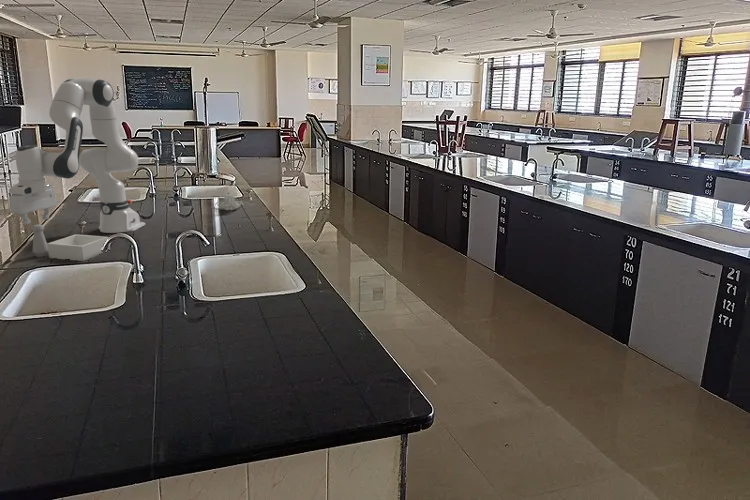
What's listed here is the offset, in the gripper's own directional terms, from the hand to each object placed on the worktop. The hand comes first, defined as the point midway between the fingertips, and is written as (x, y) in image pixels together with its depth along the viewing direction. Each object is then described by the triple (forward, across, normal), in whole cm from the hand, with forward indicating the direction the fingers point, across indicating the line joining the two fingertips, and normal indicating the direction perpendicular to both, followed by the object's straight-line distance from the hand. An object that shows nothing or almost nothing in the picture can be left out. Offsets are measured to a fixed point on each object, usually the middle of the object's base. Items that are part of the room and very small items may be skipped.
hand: (37, 221), depth 231 cm
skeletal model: (+13, -108, +30) cm, 112 cm away
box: (+14, -6, +13) cm, 20 cm away
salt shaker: (+14, 0, 0) cm, 15 cm away
